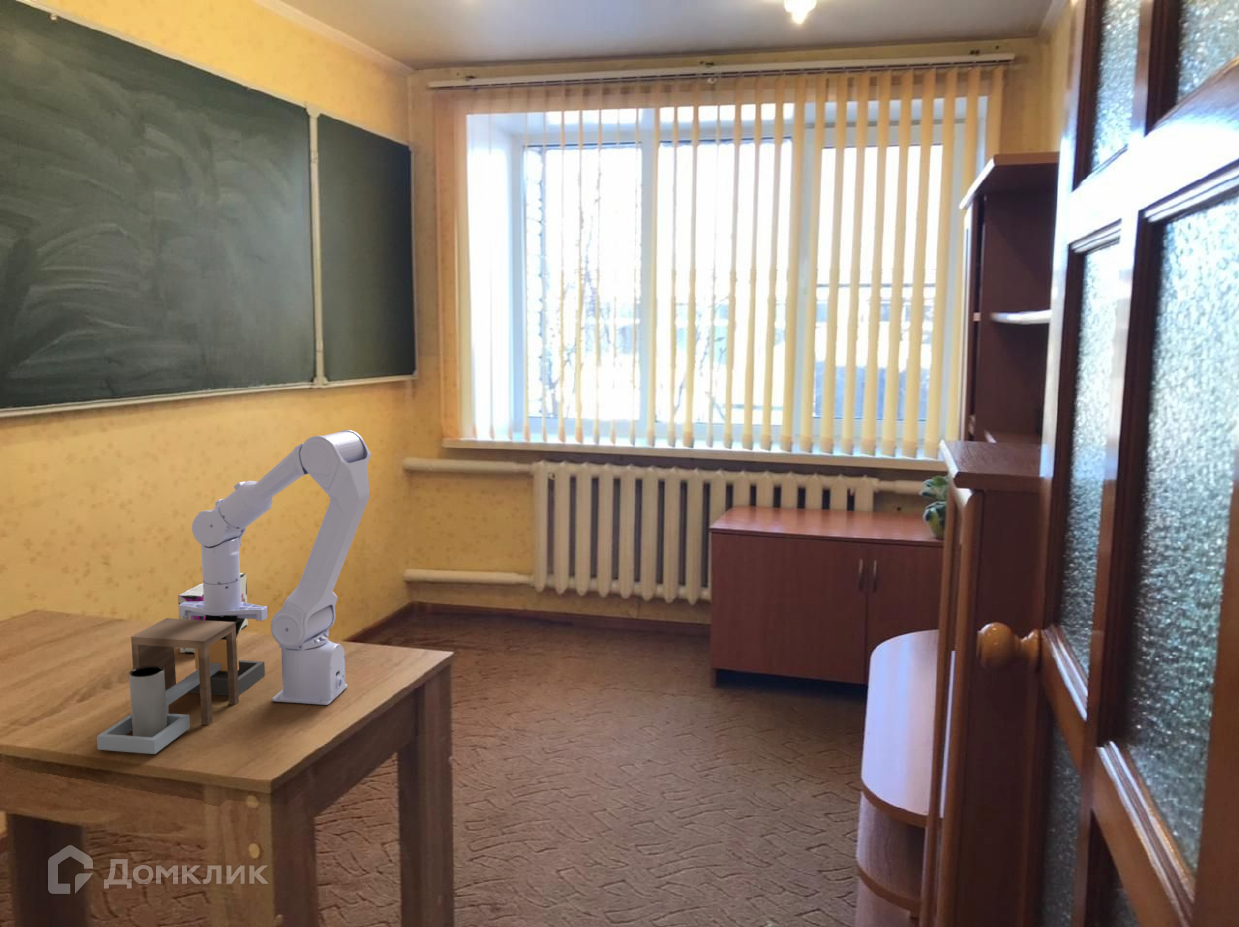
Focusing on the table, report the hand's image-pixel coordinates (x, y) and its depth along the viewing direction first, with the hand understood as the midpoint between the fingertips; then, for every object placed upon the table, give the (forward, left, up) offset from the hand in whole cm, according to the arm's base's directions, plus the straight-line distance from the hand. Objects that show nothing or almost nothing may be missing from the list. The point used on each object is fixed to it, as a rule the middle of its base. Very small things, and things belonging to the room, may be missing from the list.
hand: (225, 658), depth 156 cm
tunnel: (0, +11, -4) cm, 12 cm away
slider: (0, +14, -4) cm, 15 cm away
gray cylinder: (0, +21, -5) cm, 21 cm away
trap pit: (0, 0, -4) cm, 4 cm away
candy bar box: (+14, -12, +1) cm, 18 cm away
